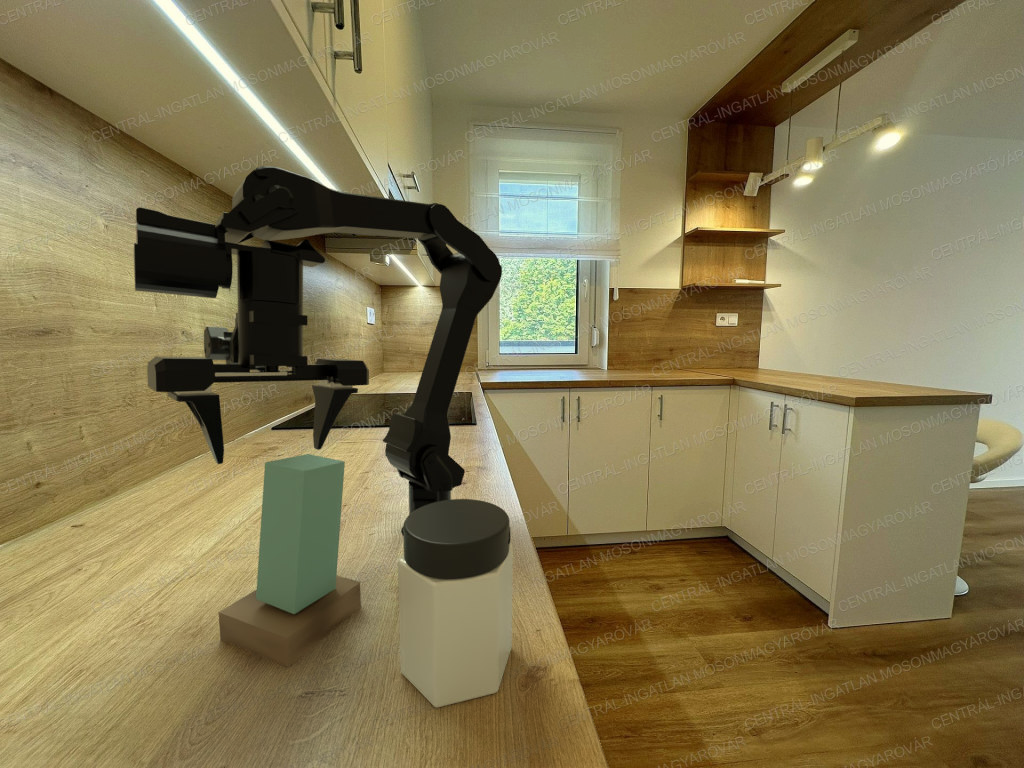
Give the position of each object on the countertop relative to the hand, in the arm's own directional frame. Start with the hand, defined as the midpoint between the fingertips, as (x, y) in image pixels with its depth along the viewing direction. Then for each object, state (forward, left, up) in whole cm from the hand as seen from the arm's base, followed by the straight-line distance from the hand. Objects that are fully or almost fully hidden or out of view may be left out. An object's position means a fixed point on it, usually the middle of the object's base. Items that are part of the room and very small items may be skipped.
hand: (272, 455), depth 43 cm
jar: (+11, +21, -14) cm, 27 cm away
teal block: (+7, +6, -11) cm, 14 cm away
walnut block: (+7, +5, -14) cm, 17 cm away
